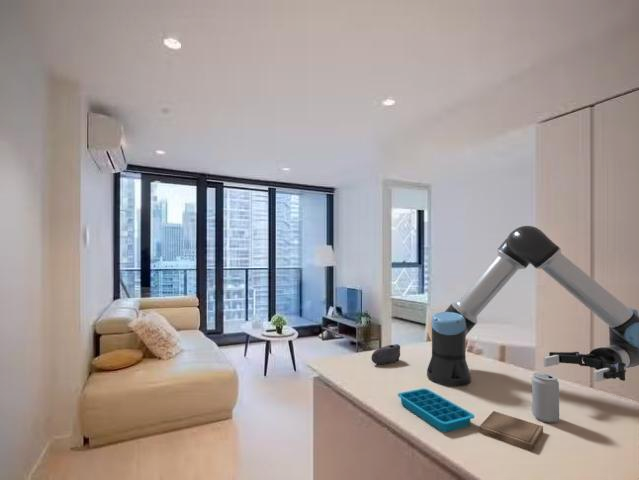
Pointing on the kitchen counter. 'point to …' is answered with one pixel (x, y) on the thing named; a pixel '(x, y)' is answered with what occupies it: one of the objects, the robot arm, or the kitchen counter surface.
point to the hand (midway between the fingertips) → (568, 368)
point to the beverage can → (545, 397)
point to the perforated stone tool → (386, 354)
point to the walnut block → (512, 430)
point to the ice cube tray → (436, 409)
